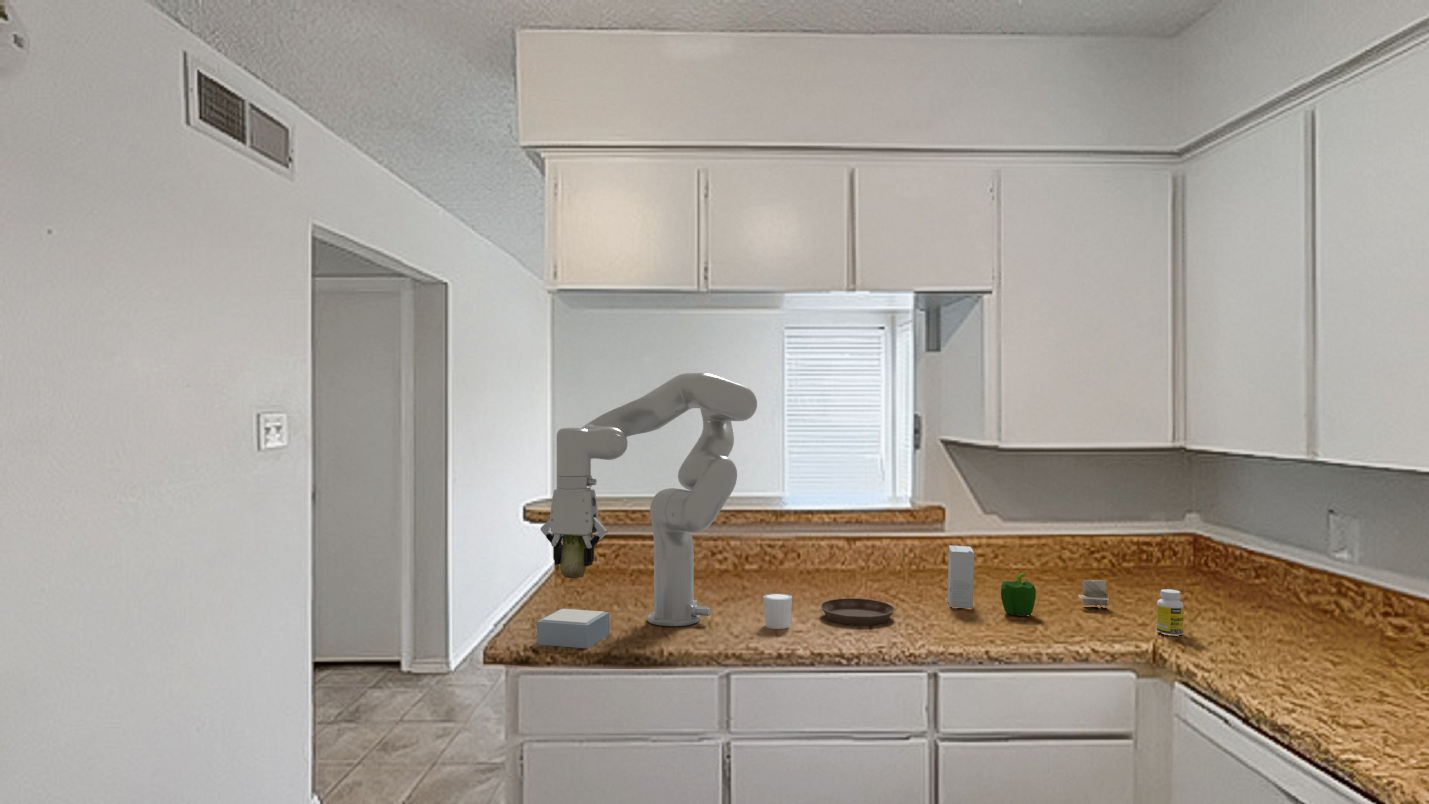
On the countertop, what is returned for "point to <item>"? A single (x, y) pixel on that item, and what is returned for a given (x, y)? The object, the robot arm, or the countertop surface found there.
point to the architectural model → (1094, 593)
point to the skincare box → (960, 576)
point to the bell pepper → (1018, 596)
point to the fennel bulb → (572, 556)
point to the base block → (573, 628)
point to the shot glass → (777, 610)
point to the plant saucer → (857, 611)
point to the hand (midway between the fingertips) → (573, 563)
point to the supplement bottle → (1170, 612)
